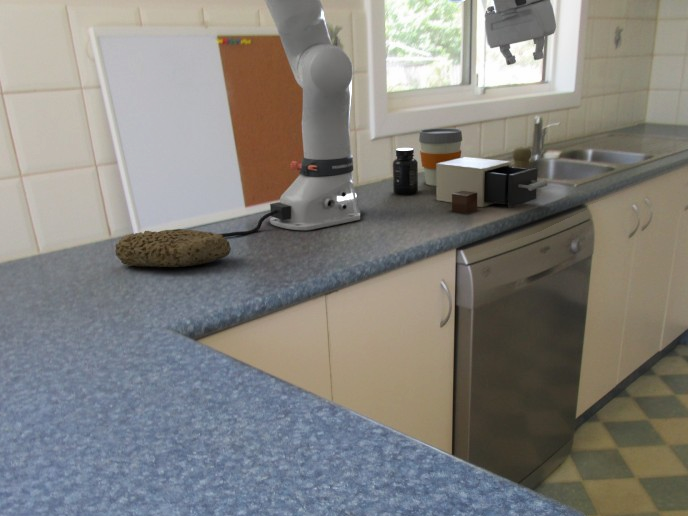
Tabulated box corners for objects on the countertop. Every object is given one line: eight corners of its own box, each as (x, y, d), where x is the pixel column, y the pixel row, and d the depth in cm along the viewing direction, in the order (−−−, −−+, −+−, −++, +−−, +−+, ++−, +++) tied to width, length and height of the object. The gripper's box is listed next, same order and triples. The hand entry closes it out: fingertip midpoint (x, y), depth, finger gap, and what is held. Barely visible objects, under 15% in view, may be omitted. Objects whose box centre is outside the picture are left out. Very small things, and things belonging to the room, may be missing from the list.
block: (466, 214, 159) (466, 195, 158) (451, 211, 162) (451, 193, 160) (477, 210, 162) (477, 192, 161) (462, 208, 165) (462, 190, 163)
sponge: (114, 277, 125) (197, 265, 117) (105, 236, 124) (189, 221, 116) (163, 269, 137) (242, 257, 129) (156, 231, 136) (235, 217, 128)
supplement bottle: (388, 193, 185) (387, 149, 180) (407, 189, 188) (406, 146, 184) (403, 196, 179) (402, 151, 175) (423, 193, 183) (422, 149, 179)
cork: (525, 190, 183) (526, 149, 179) (505, 188, 186) (506, 148, 182) (535, 186, 187) (536, 147, 183) (515, 184, 191) (517, 145, 187)
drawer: (551, 201, 165) (552, 169, 163) (527, 209, 158) (528, 177, 155) (491, 193, 177) (492, 163, 174) (466, 200, 169) (466, 170, 166)
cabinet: (509, 198, 174) (511, 161, 171) (482, 207, 165) (482, 168, 162) (464, 192, 183) (465, 156, 180) (436, 200, 174) (436, 163, 171)
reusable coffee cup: (426, 188, 189) (425, 134, 184) (415, 180, 201) (413, 129, 195) (467, 185, 192) (468, 132, 187) (454, 177, 203) (454, 127, 198)
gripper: (473, 11, 158) (486, 70, 163) (533, -7, 141) (545, 59, 146) (493, 5, 161) (505, 63, 166) (554, -13, 144) (565, 52, 149)
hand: (525, 61), depth 156 cm, fingers open, 8 cm apart
